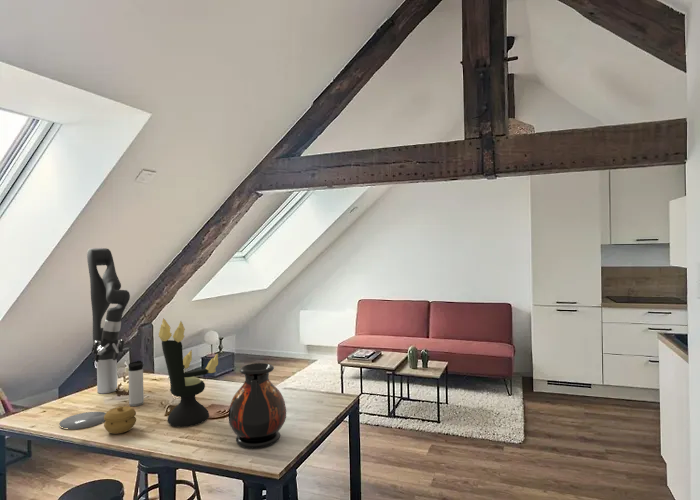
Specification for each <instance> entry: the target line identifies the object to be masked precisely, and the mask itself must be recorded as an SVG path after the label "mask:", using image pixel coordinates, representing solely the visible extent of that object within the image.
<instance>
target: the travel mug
mask: <svg viewBox="0 0 700 500" xmlns="http://www.w3.org/2000/svg"><path fill="white" fill-rule="evenodd" d="M143 365H144V364H143V361H142V360H136V361H133V362H130V363H128V366H127V367H128V369H127V371H128V403H129V405H128V406H129V407H138V406H142V405H143V404H144V403H145V402H144V401H145V400H144V397H145V396H144V394H145V393H144V368H143V367H144V366H143Z"/></svg>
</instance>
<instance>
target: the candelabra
mask: <svg viewBox="0 0 700 500" xmlns="http://www.w3.org/2000/svg"><path fill="white" fill-rule="evenodd" d="M161 322H162V323H161V325H160V327H159V332H158V338H159V339H160V341H161V347H162V352H163V355H164V356H163V357H164V361H165V365H166V369H167V373H168V377H169V383H170V389H169V390H170V393H171V394H172V395H173V396H174V397H179V398H180V401H179V403H178V404H177V405H176V406H175V407H174V408H173V409H172V411H171V410H170V412H169V415H167V421H166V422H167V423H168V425H170V426H171V427H175V428H187V427H188V428H189V427H193V426H197V425H200V424H202V423H205V422H206V421H207V420H208V418H209V417H210V412H209V411H208V410H209V409H207V407H206V406H204V405H203V404H201V402H199V401H197V398H196V395H199V394H201V393H202V392H204V390H205V389H206V384H205V382H204V381H203V380H202V379H201V378H199V376H205V375H208V374H214V373H216V372H217V371H216V369H217V366H218V365H219V358H218V357H219V355H218V353H216V354H215V356H214V357H212V358H211V359H210V360H209V361H208V362H207V365H206V367H205V368H201V369H197V370H196V369H195V370H191V371H186V372H185V370H186V369H189V368H190V365H191V362H192V359H193V357H192V355H193V351H192V349H191V350H189V352H188V353H187V354H186V355H185V356H184V357H183V353H184V352H183V343H182V341H183V340H184V338H185V335H184V334H185V330H186V329H185V326H184V324H183V322H182V320H180V322H179V324H178V326H177V327H176V329H175V330H174V333H173V334H172V332H171V326H170V325H169V323H168V322H167V320H166V319H165V318H162V321H161ZM171 337H172V338H173V340H171Z"/></svg>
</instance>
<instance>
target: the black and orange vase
mask: <svg viewBox="0 0 700 500" xmlns="http://www.w3.org/2000/svg"><path fill="white" fill-rule="evenodd" d="M274 370H275V367H274V365H272V364H270V363H264V362H261V363H260V362H258V363H248V364H246V365H243V366H241V367H240V368H239V372H240V374H243V375H244V379H245V380H244V382H243V384H242V385H241V386H240V387H239V389H237V391H236V392H235V394H234V395H233V396H232V399H231V402H230V404H229V409H228V415H227V416H228V423H229V426H230V428H231V430H232V431H233V432H234V433H235V434H236V437H235V442H236V444H237V445H238V446H240V447H242V448H245V449H252V450H253V449H255V450H257V449H263V448H266V447H269V446H272V445H274V444H276V443H277V442H278V441H279V440H280V438H281V432H280V430H281V429H282V428H283V425H284V424H285V422H286V419H287V407H286V406H287V405H286V402H285V398H284V396H283V395H282V393H281V391H280V390H279V389H278V388H277V386H275V385H274V383H273V382H272V381H271V380H270V378H269V375H270V373H271V372H273V371H274Z"/></svg>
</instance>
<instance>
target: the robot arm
mask: <svg viewBox="0 0 700 500" xmlns="http://www.w3.org/2000/svg"><path fill="white" fill-rule="evenodd" d="M86 258H87V259H86V260H87V267H88V274H89V284H90V302H91V303H90V304H91V312H92V315H91V316H92V341H93V344H92V347H91V353H92V354H94V358H93V360H94V362H96V381H97V382H96V384H97V385H96V386H97V387H96V388H97V393H98V394H108V393H109V394H110V393H113V392H116V391H117V390H116V388H117V389H118V362H117V359H118V356H119V353H120V352H123V351H124V345H125V344H124V343H125V342H124V339H122V338H120V339H119V337H120V332H121V327H122V318H123V315H124V311H125V309H126V307H127V306H128V303H129V302H130V300H131V299H130V298H131V294H130V292H129V291H128V290H127V289H121V288H122V283H121V281H120V279H119V276H118V275H117V272H116V266H115V262H114V258H113V254H112V252H111V250H110V249H109V248H107V247H106V248H102V247H101V248H100V247H99V248H98V247H94V248H88V250H87V253H86ZM98 266H106V269H105V271H104V273H103V275H102V276H101V275H100V273H99V270H98ZM111 304H112V305H116V306H113V307H110V305H111ZM105 314H106V316H105ZM104 316H105V320H104V324H103V327H101V326H102V325H101V324H102V321H103V318H104Z"/></svg>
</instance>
